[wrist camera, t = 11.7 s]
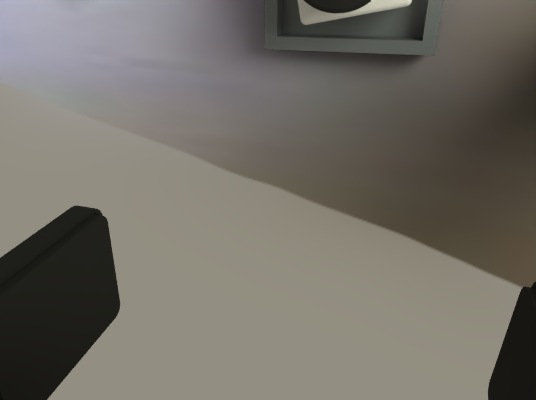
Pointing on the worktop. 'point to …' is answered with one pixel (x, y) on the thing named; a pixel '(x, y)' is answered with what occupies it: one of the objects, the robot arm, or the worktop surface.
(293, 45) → the tray
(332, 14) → the medicine bottle
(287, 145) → the worktop surface
